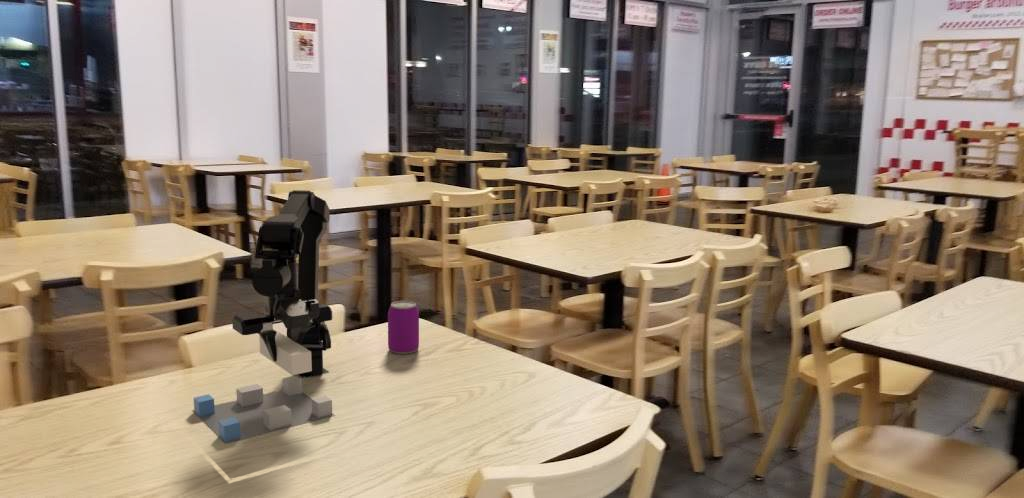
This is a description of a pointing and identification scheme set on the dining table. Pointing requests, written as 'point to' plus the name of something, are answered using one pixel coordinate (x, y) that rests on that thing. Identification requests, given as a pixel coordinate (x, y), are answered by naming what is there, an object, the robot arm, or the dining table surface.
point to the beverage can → (403, 327)
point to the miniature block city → (261, 411)
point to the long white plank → (289, 355)
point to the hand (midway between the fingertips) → (284, 358)
